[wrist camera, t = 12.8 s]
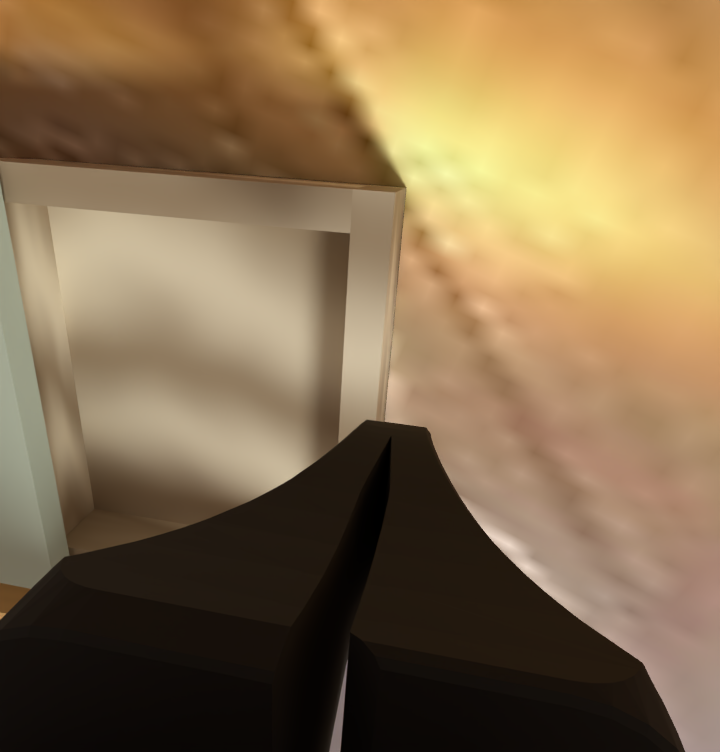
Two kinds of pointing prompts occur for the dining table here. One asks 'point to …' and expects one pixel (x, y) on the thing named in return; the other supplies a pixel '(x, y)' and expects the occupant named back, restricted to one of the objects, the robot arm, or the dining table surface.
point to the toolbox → (196, 332)
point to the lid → (23, 445)
